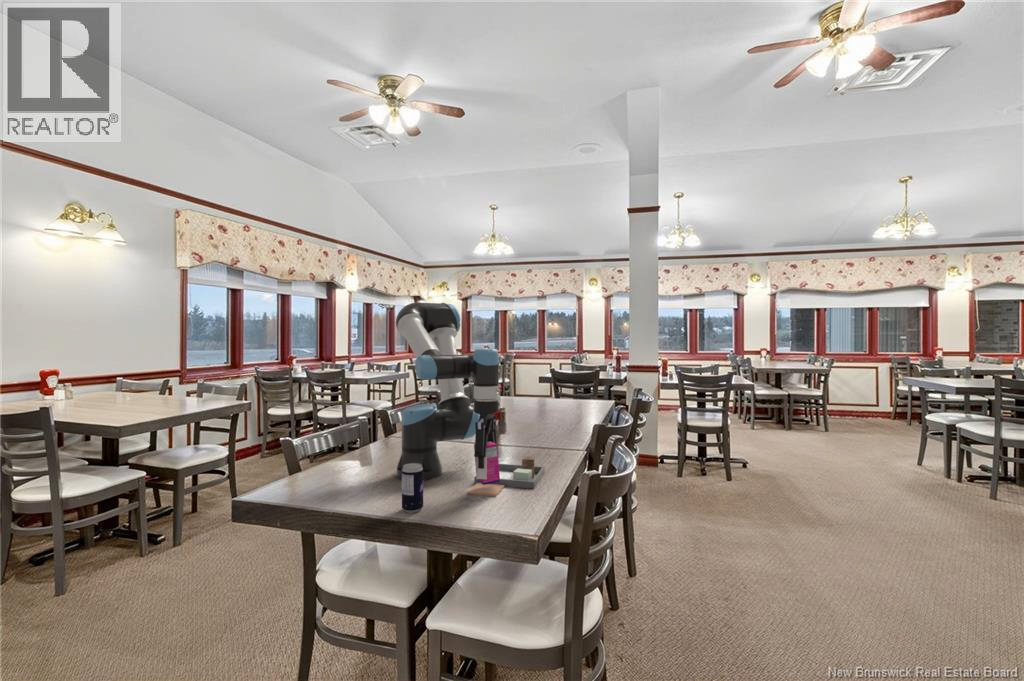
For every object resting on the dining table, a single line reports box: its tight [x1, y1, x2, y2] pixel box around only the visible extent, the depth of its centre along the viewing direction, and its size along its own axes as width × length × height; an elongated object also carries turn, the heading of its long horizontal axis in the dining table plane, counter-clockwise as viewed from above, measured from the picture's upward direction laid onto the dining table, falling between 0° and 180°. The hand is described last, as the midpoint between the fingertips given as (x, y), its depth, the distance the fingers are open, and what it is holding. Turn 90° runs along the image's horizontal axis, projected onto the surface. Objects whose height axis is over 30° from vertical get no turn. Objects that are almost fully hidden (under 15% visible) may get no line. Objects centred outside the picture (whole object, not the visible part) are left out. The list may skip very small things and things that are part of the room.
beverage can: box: [401, 463, 424, 514], centre depth 126 cm, size 6×6×12 cm
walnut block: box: [521, 455, 535, 479], centre depth 157 cm, size 4×4×6 cm
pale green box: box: [512, 468, 533, 481], centre depth 149 cm, size 5×4×4 cm
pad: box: [466, 483, 506, 497], centre depth 142 cm, size 9×9×1 cm
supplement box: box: [473, 441, 501, 485], centre depth 142 cm, size 6×6×12 cm
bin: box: [473, 463, 546, 489], centre depth 154 cm, size 19×17×2 cm
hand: (486, 474), depth 142 cm, fingers closed on supplement box, 8 cm apart
